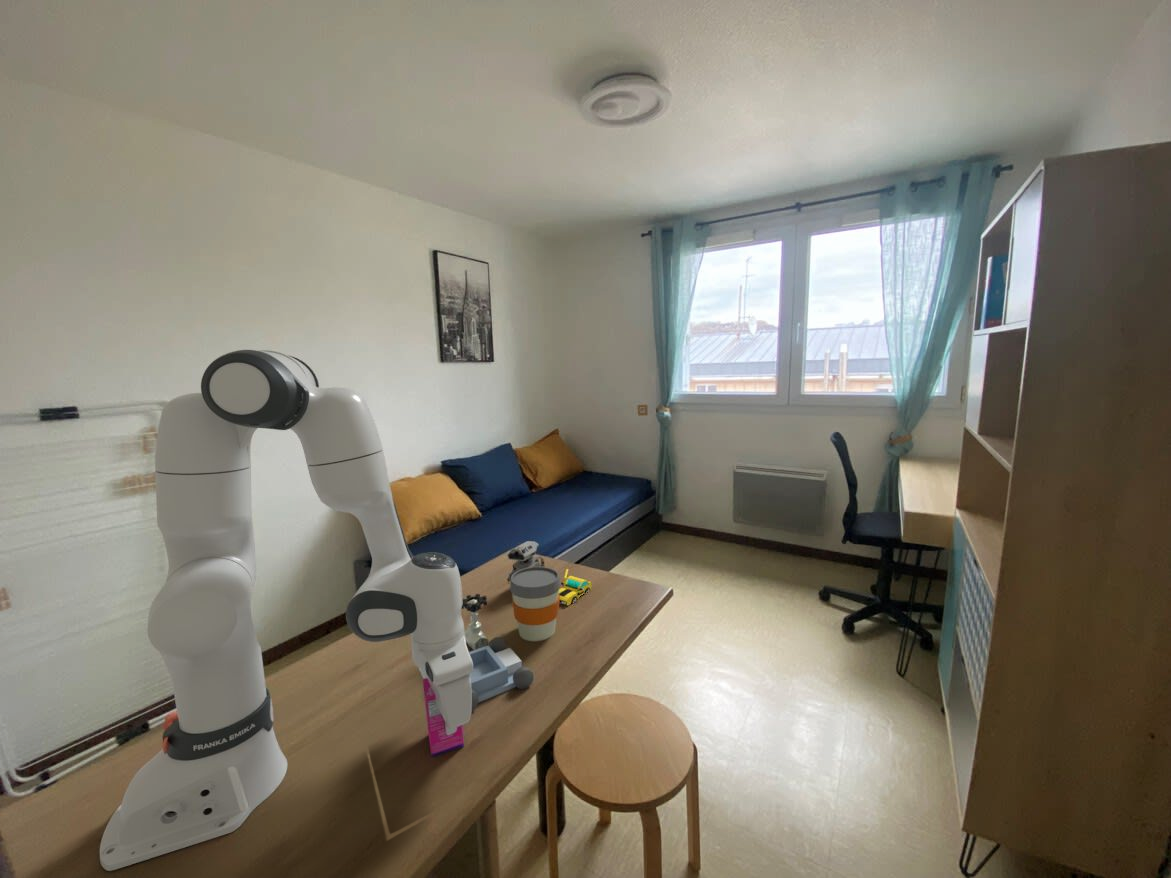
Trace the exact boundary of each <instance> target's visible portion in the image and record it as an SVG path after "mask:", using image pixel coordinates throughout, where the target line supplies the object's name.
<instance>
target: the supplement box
mask: <svg viewBox="0 0 1171 878" xmlns="http://www.w3.org/2000/svg"><path fill="white" fill-rule="evenodd" d="M422 685H423V696H424V707H425V716H426V727H427V735H428V740H429V748H430V755H431V757H436V756H437V755H441V754H443V753H446V752H447V753H448V752H450V751H451V752H452V751H454V750H457V749H459V748H463V747H465V740H464V739H465V738H464V731H463V729H464V727H463V725H461V726H458V727H457V731H456V732H455V733H453V734H450V735H447V734H446V732H445V729H444V719H443V717H442V715H441V713H440V711H439V709H438V707H437V705H436V698H435V694H434V692H433V690H432V688H431V686H430V684H429V682H428V680H427V678H422Z"/></svg>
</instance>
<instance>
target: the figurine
mask: <svg viewBox="0 0 1171 878" xmlns="http://www.w3.org/2000/svg"><path fill="white" fill-rule="evenodd" d="M539 546H540V545H539V543H538V542H537V541H534V540H527V541H525V542H522V543H520V542H518V543H517V546H516V547H514V548H512V549H511V550H510V551H509V552H508V553H507V555H506V556H507V559H508V560H511V561H515V562H514V563H513V564H512V571H511V572H509V573H508V577H507V579H506V580H507V583H510V582H511V576H512V575H513V574H514V573H515V572H517V571H518V570H521V569H524V568H528V567H546V564H545V560H544V558H542V557H541V556H539V557H535V555H536V553H537V549H538V547H539Z"/></svg>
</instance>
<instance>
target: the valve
mask: <svg viewBox="0 0 1171 878" xmlns="http://www.w3.org/2000/svg"><path fill="white" fill-rule="evenodd" d="M482 605H483V606H484V607H485V606H487V605H488V598H487V595H482V596H481V594H480V593H475V594H474V596H472V595H471V594H467V595H466V598H463V604H462V608H461V610H463V609H466V611H467V612H470V614H469V616H470V617H469V618H470V619H469V620H470V621H471V622H470V623H469V624H468V627H467V628H466V629H464V632H465V637H466V645H468V647H469V648H471V649H472V651H474V650H476V649H479V648H482V647H485V646H488V645H489V639H488V638H487V636H486V635H485V634H484V632H483V631H482V623H481V622H480V621H479V617H480V616H479V613H478V611H479V610H481V609H482Z"/></svg>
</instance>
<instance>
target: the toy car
mask: <svg viewBox="0 0 1171 878" xmlns="http://www.w3.org/2000/svg"><path fill="white" fill-rule="evenodd" d="M568 574H569V568H567V569H566V570H565V573H564V578H563V582H560V584H561V586H562V587H560V589H559V595H560V601H559V604H562V605H564V606H570V605H571V603H573V604H575V603H576V602H577V601H578V600H579V599H580V598H581V597H582V596H581V595H583V594H584V595H585V593H586V592H588V591H589V590H590V591H591V590H592V582H591V581H589V580H586V579H583V578H579V577H576V576H573V575H569V576H568ZM567 576H568V577H567ZM590 591H589V592H590ZM584 595H583V596H584ZM580 596H581V597H580ZM579 597H580V598H579ZM576 600H577V601H576ZM575 601H576V602H575ZM574 602H575V603H574Z"/></svg>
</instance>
